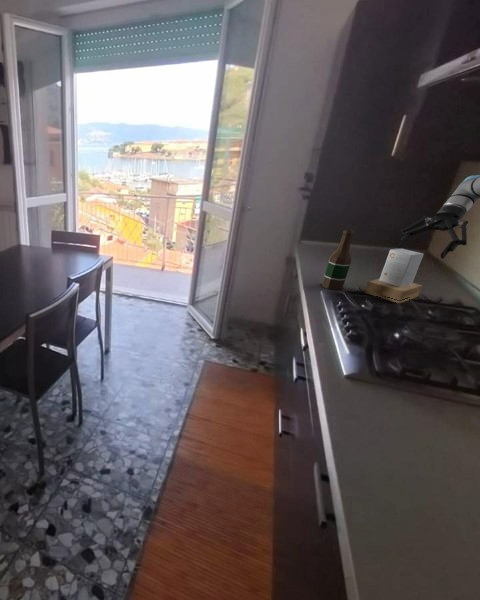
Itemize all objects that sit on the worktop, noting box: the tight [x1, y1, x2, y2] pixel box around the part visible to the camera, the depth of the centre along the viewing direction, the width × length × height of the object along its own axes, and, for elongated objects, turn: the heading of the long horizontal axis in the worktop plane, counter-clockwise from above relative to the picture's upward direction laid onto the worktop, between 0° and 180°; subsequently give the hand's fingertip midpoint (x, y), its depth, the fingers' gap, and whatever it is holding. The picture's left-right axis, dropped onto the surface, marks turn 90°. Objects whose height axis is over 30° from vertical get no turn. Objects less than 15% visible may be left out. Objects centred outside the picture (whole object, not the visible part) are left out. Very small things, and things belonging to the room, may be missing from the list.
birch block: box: [363, 277, 423, 304], centre depth 142 cm, size 12×14×5 cm
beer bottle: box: [321, 229, 355, 291], centre depth 146 cm, size 8×8×24 cm
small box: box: [379, 248, 425, 287], centre depth 138 cm, size 8×6×13 cm
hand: (419, 252), depth 140 cm, fingers open, 13 cm apart
